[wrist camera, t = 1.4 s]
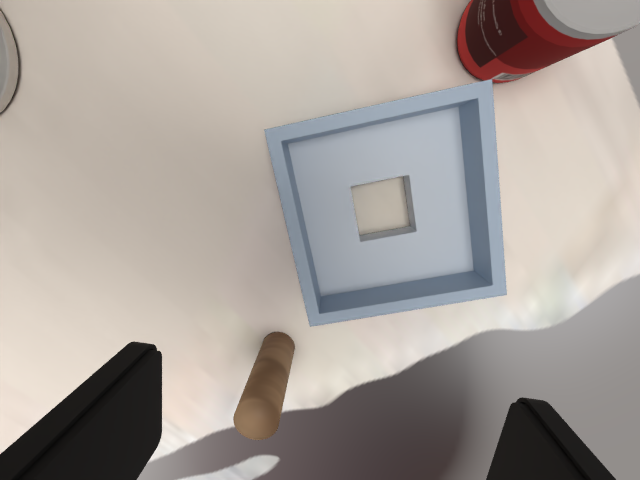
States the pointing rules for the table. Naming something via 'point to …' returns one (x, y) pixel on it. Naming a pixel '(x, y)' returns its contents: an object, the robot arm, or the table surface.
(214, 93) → the table surface
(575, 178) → the table surface
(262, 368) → the walnut peg
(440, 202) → the slate box
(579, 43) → the canned food
